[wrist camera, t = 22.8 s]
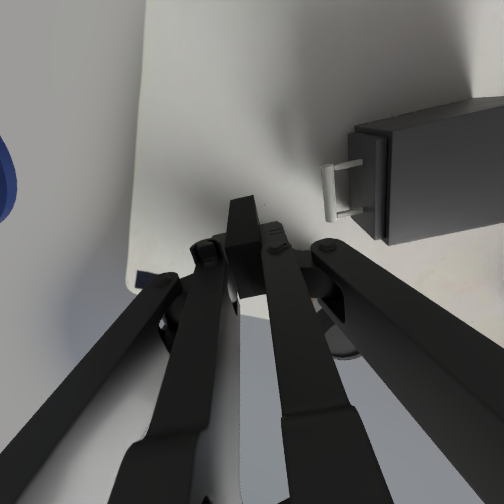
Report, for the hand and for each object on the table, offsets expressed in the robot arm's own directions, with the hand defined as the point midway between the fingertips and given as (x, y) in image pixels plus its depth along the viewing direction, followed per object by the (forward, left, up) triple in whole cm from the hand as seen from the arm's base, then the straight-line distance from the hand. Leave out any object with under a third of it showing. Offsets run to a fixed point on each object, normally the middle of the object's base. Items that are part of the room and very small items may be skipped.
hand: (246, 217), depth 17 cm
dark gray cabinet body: (+22, -5, -20) cm, 30 cm away
